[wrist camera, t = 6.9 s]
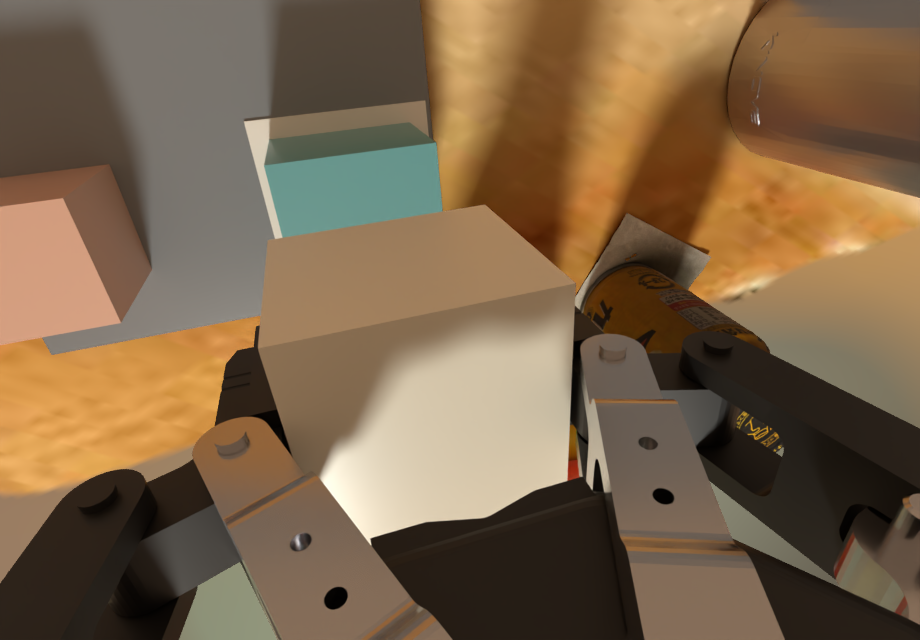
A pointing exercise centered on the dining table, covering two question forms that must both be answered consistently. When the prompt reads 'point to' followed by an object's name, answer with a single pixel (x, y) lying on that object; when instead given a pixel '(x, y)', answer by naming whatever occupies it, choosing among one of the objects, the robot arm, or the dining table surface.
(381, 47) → the baseplate
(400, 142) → the teal base brick
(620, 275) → the condiment
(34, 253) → the pink cube
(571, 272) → the dining table surface
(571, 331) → the cream brick
